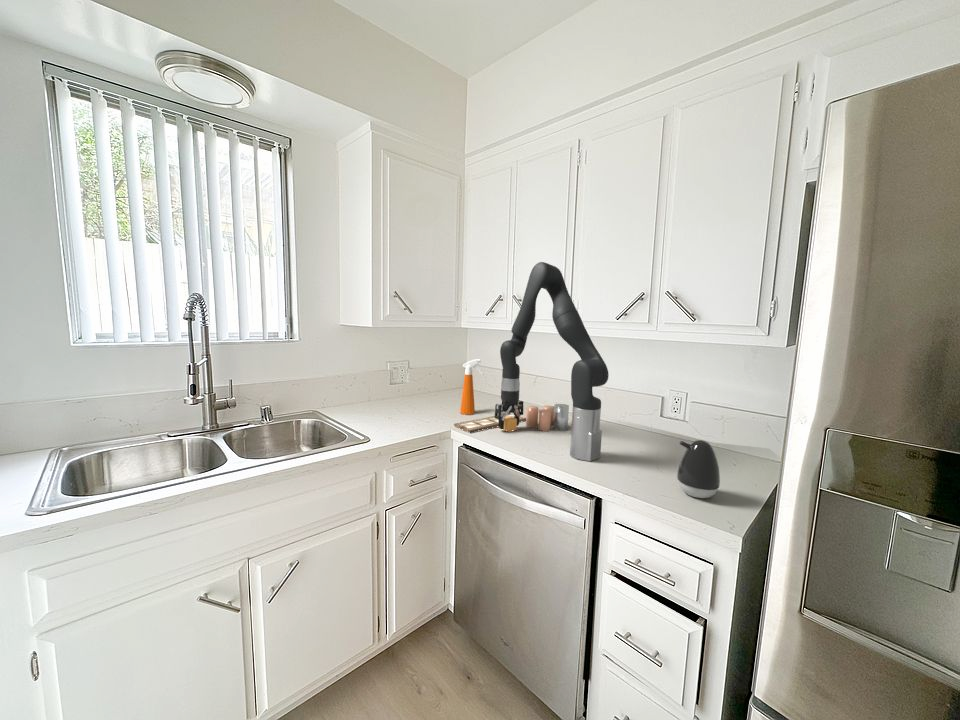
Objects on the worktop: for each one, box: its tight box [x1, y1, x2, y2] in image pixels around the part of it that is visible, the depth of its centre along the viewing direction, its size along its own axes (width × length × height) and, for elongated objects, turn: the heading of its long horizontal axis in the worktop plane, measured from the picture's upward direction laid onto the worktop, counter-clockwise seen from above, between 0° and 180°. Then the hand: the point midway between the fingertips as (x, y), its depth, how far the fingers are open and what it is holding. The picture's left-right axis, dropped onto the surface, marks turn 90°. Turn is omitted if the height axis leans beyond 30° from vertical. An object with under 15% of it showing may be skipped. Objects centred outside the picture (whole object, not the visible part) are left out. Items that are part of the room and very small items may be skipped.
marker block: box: [502, 416, 517, 432], centre depth 162 cm, size 4×4×5 cm
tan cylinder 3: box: [537, 408, 551, 432], centre depth 164 cm, size 5×5×8 cm
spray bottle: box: [459, 358, 484, 416], centre depth 186 cm, size 7×11×26 cm, turn 89°
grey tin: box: [553, 403, 570, 431], centre depth 166 cm, size 6×6×10 cm
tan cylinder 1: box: [525, 405, 540, 428], centre depth 169 cm, size 5×5×8 cm
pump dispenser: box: [676, 439, 721, 499], centre depth 106 cm, size 10×10×15 cm
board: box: [453, 413, 526, 433], centre depth 170 cm, size 11×32×1 cm, turn 130°
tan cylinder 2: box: [542, 404, 554, 427], centre depth 171 cm, size 5×5×8 cm
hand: (508, 427), depth 162 cm, fingers open, 8 cm apart
